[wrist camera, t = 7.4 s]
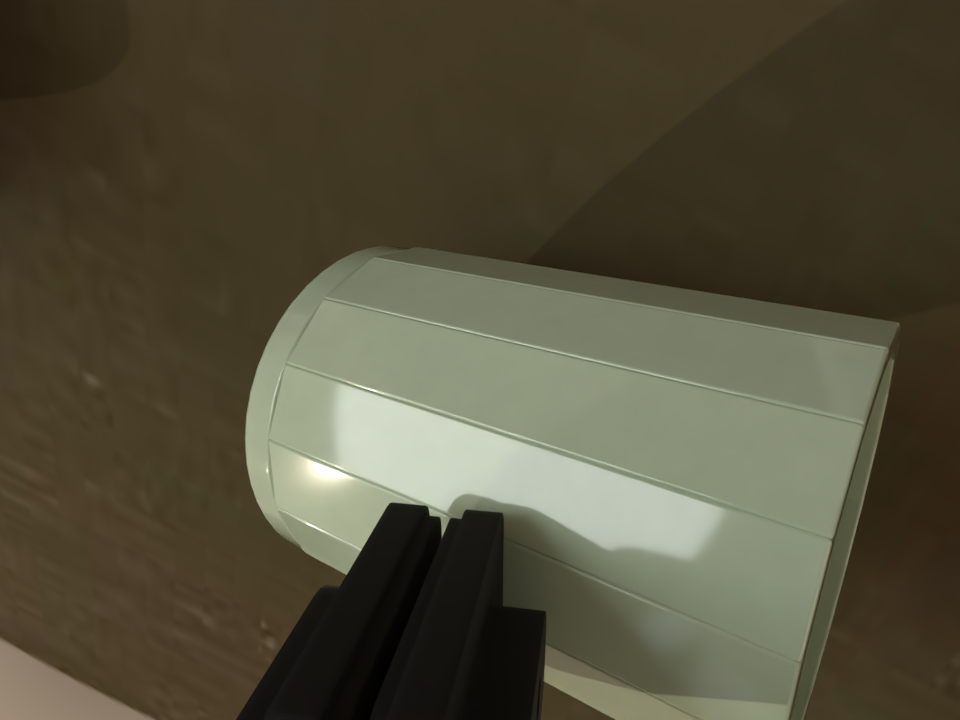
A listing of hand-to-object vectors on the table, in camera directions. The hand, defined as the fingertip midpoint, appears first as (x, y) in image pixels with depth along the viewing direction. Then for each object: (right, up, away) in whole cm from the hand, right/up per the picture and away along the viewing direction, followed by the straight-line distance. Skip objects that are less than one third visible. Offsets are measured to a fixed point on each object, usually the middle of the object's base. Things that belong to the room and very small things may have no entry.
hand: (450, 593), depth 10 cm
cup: (-2, +2, +6) cm, 7 cm away
